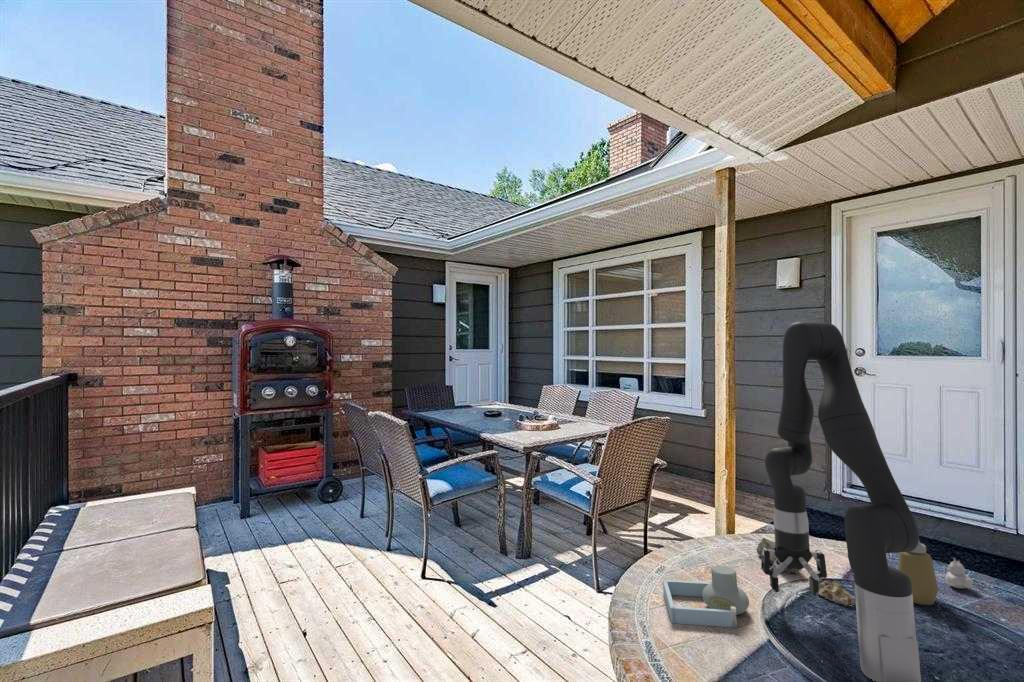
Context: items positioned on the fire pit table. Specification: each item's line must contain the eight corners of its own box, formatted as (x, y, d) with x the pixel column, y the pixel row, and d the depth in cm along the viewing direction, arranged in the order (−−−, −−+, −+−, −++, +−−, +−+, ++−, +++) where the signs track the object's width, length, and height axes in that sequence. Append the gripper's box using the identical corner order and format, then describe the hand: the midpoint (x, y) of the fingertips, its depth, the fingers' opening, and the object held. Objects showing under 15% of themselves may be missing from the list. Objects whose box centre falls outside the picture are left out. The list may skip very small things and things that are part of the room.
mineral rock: (806, 581, 131) (832, 572, 131) (811, 596, 131) (837, 587, 131) (833, 601, 120) (862, 591, 120) (839, 618, 120) (868, 608, 120)
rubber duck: (957, 582, 132) (954, 553, 133) (982, 593, 126) (979, 562, 126) (939, 583, 132) (936, 554, 132) (963, 594, 125) (960, 563, 126)
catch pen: (737, 627, 112) (736, 608, 113) (671, 622, 115) (670, 604, 115) (720, 596, 128) (720, 579, 128) (663, 592, 131) (662, 576, 131)
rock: (816, 558, 140) (788, 553, 138) (812, 581, 140) (784, 576, 138) (773, 537, 157) (748, 531, 155) (769, 557, 156) (744, 552, 154)
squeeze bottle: (898, 590, 128) (893, 523, 130) (938, 598, 123) (932, 528, 125) (898, 602, 122) (893, 531, 123) (940, 611, 117) (934, 537, 118)
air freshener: (751, 608, 121) (749, 568, 122) (746, 623, 114) (744, 580, 115) (707, 598, 127) (704, 560, 128) (699, 611, 120) (697, 571, 121)
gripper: (765, 530, 117) (768, 597, 116) (829, 533, 114) (833, 602, 113) (756, 520, 124) (759, 583, 123) (815, 523, 121) (819, 587, 121)
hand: (794, 592), depth 118 cm, fingers open, 8 cm apart
